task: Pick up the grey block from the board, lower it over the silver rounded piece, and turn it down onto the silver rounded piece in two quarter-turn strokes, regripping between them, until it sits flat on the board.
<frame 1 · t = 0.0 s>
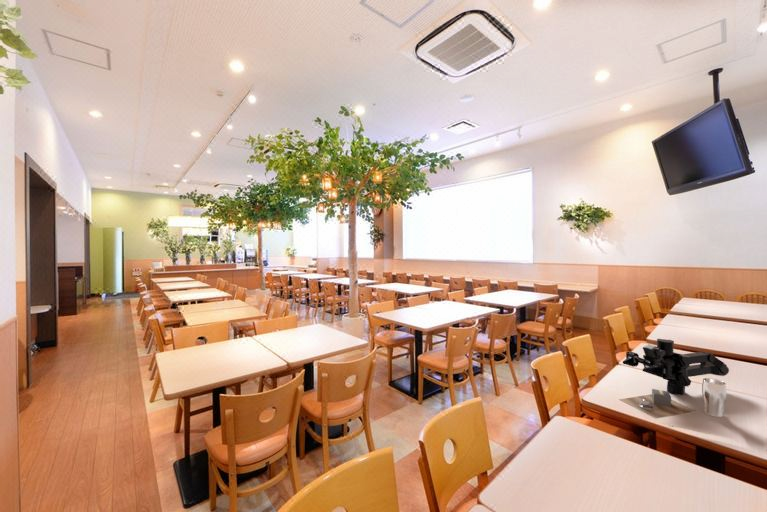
hand: (632, 366, 143), 17 cm above the table, tool horizontal, fingers open, 9 cm apart
silver rounded piece: (645, 406, 137), resting on board
grey block: (661, 402, 140), point 1 cm above the table, touching board
board: (656, 408, 138), on the table
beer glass: (713, 417, 130), on the table
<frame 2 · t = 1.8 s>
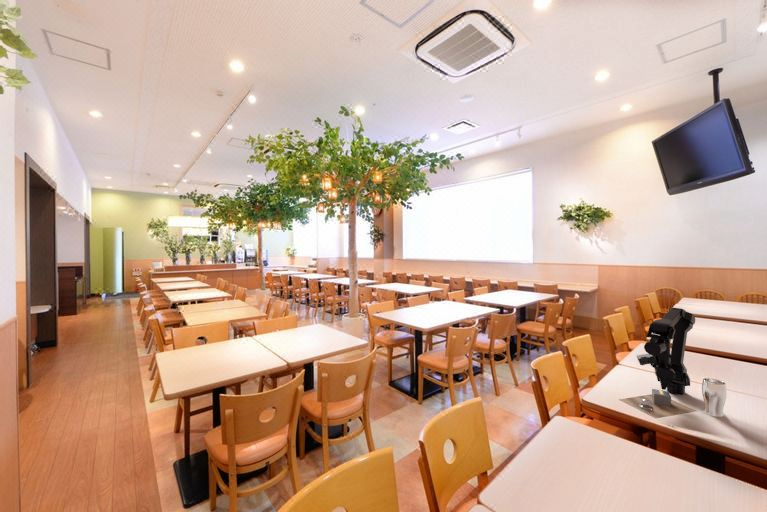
hand: (661, 385, 140), 9 cm above the table, tool pointing down, fingers open, 9 cm apart
nothing on the table moved.
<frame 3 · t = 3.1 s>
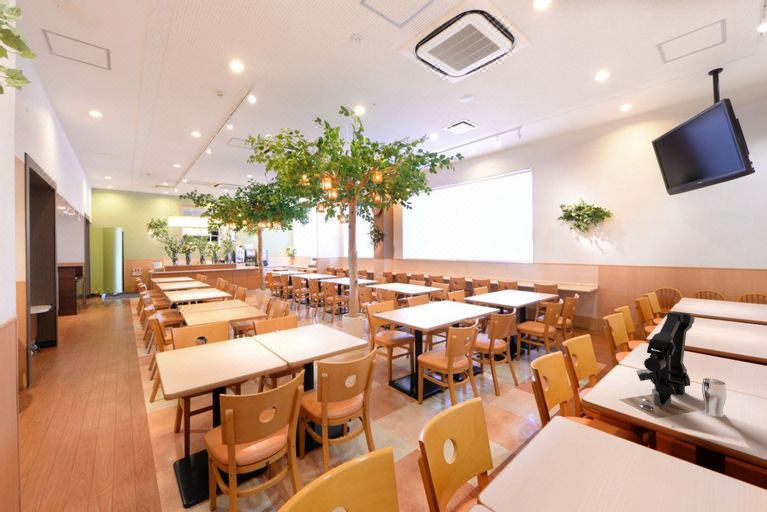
hand: (661, 401, 140), 2 cm above the table, tool pointing down, fingers closed on grey block, 6 cm apart
grey block: (661, 402, 140), point 1 cm above the table, touching board, gripper
everything else where it was.
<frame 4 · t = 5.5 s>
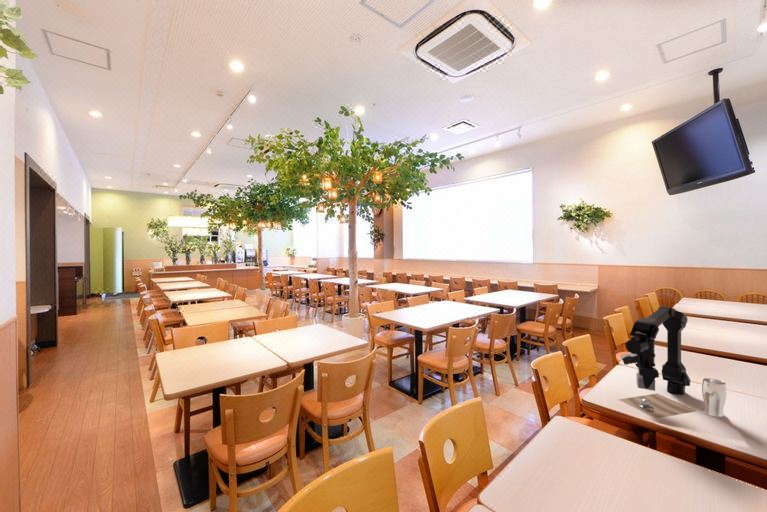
hand: (645, 385, 137), 11 cm above the table, tool pointing down, fingers closed on grey block, 6 cm apart
grey block: (645, 386, 137), point 10 cm above the table, touching gripper
everything else where it was.
when the fingers open (3 cm above the table, at t = 8.1 s): grey block stays where it is, resting on silver rounded piece.
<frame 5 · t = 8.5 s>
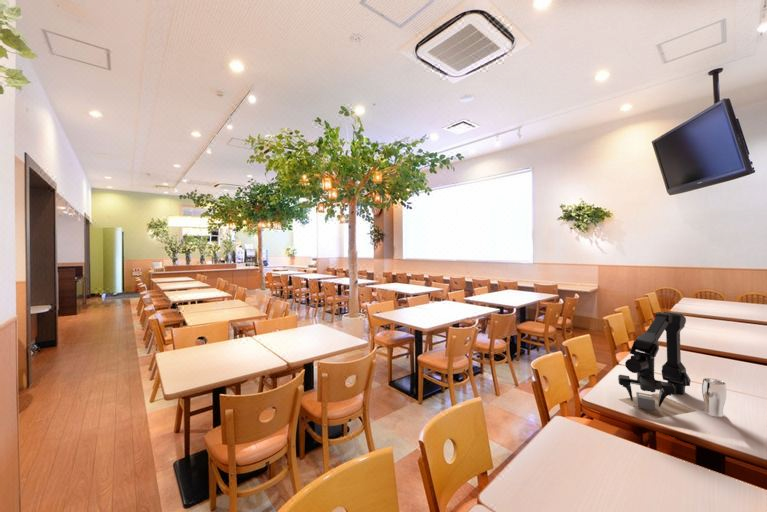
hand: (645, 403, 137), 3 cm above the table, tool pointing down, fingers open, 9 cm apart
grey block: (645, 406, 137), point 2 cm above the table, touching silver rounded piece
everything else where it was.
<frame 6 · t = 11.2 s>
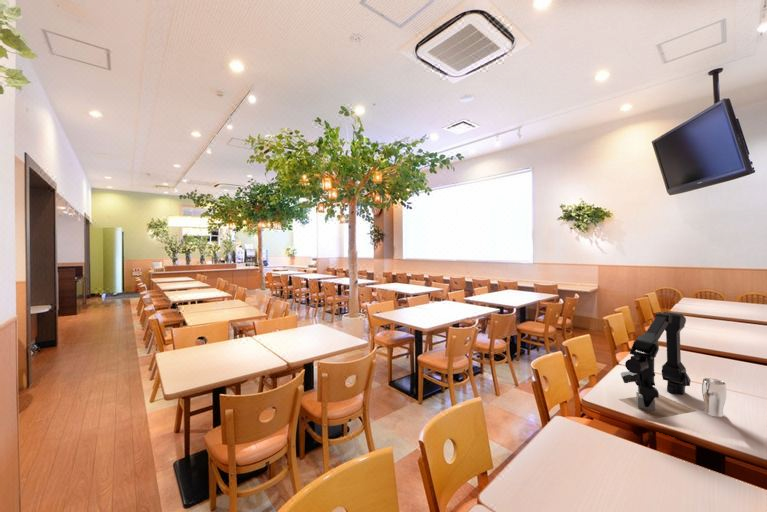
hand: (645, 403, 137), 3 cm above the table, tool pointing down, fingers closed on grey block, 6 cm apart
grey block: (645, 406, 137), point 2 cm above the table, touching gripper, silver rounded piece
everything else where it was.
when the fingers open (2 cm above the table, at t = 12.3 s): grey block stays where it is, resting on silver rounded piece.
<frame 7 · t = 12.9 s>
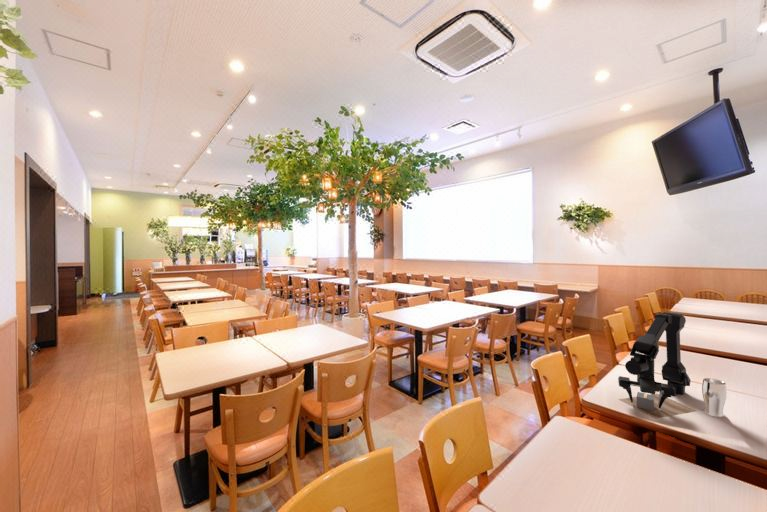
hand: (645, 405, 137), 2 cm above the table, tool pointing down, fingers open, 9 cm apart
grey block: (645, 406, 137), point 2 cm above the table, touching silver rounded piece
everything else where it was.
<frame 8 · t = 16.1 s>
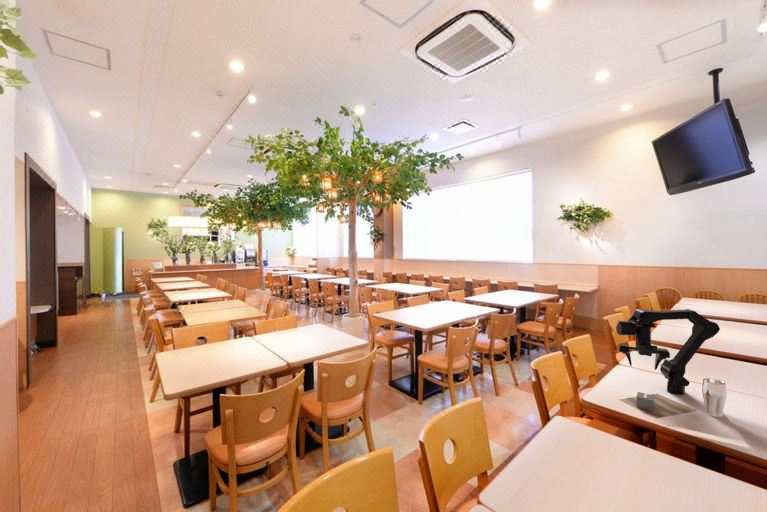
hand: (642, 367, 152), 12 cm above the table, tool pointing down, fingers open, 9 cm apart
nothing on the table moved.
at the end: grey block 0.0 cm off-centre on the silver rounded piece, point 0.2 cm above the silver rounded piece's base; grey block tilted 0°; the gripper is holding nothing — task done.
